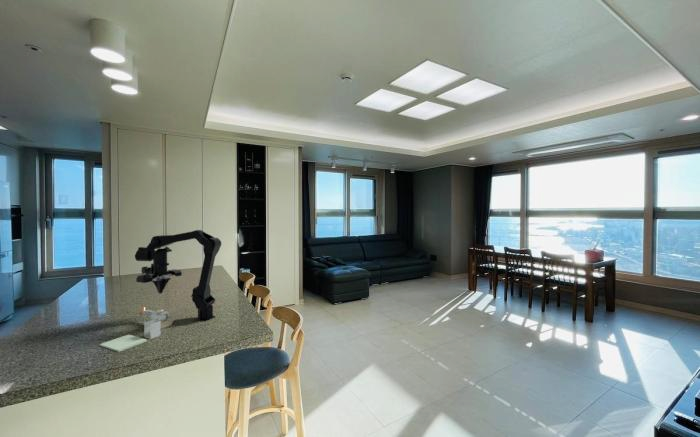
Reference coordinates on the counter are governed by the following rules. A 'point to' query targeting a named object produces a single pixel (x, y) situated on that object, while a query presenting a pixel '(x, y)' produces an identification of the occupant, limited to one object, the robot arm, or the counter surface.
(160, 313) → the crank handle
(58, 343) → the counter surface
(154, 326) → the grey rectangular block
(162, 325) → the base
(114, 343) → the mat
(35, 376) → the counter surface
